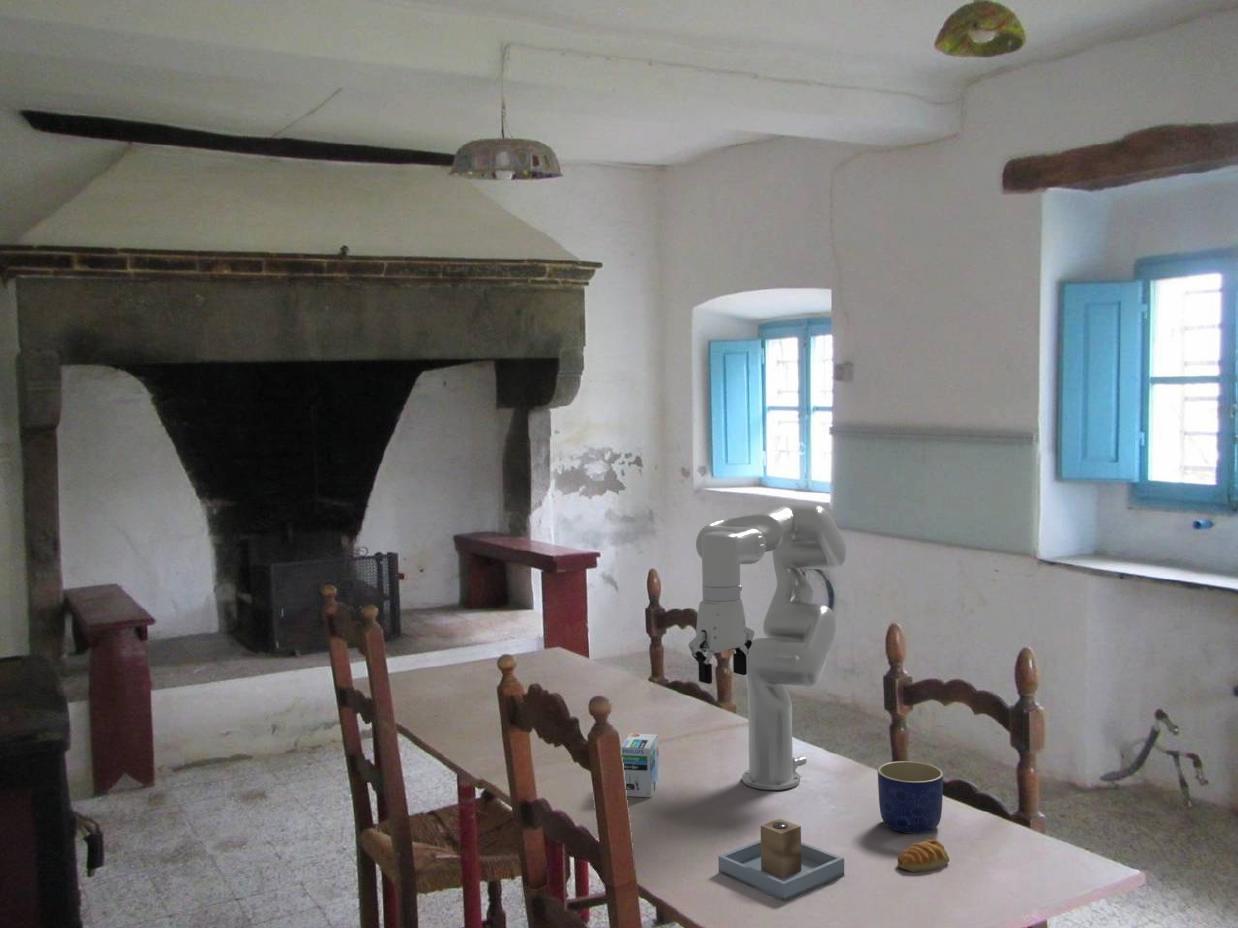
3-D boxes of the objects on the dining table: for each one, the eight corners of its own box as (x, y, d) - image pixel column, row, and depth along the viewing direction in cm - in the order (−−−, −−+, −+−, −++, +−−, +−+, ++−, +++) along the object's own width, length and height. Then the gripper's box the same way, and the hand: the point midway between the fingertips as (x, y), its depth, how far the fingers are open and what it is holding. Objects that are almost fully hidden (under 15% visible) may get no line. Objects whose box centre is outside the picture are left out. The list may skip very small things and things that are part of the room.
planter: (868, 830, 216) (867, 774, 215) (891, 809, 226) (890, 757, 226) (931, 843, 209) (930, 786, 208) (952, 821, 219) (951, 767, 219)
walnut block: (780, 861, 201) (779, 817, 200) (801, 870, 197) (800, 824, 196) (761, 869, 197) (760, 824, 197) (782, 878, 194) (781, 832, 193)
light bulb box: (652, 798, 236) (650, 748, 235) (620, 796, 237) (619, 747, 237) (660, 781, 247) (659, 733, 246) (630, 779, 248) (629, 732, 247)
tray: (778, 848, 208) (778, 832, 208) (844, 874, 196) (844, 858, 196) (718, 872, 198) (718, 855, 198) (784, 901, 186) (783, 883, 186)
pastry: (916, 878, 194) (915, 856, 194) (887, 865, 200) (887, 844, 200) (952, 865, 199) (952, 844, 199) (923, 853, 205) (923, 832, 205)
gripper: (738, 586, 231) (739, 667, 231) (676, 596, 220) (678, 682, 221) (765, 590, 225) (766, 674, 226) (703, 601, 214) (704, 689, 215)
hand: (723, 678), depth 223 cm, fingers open, 9 cm apart
